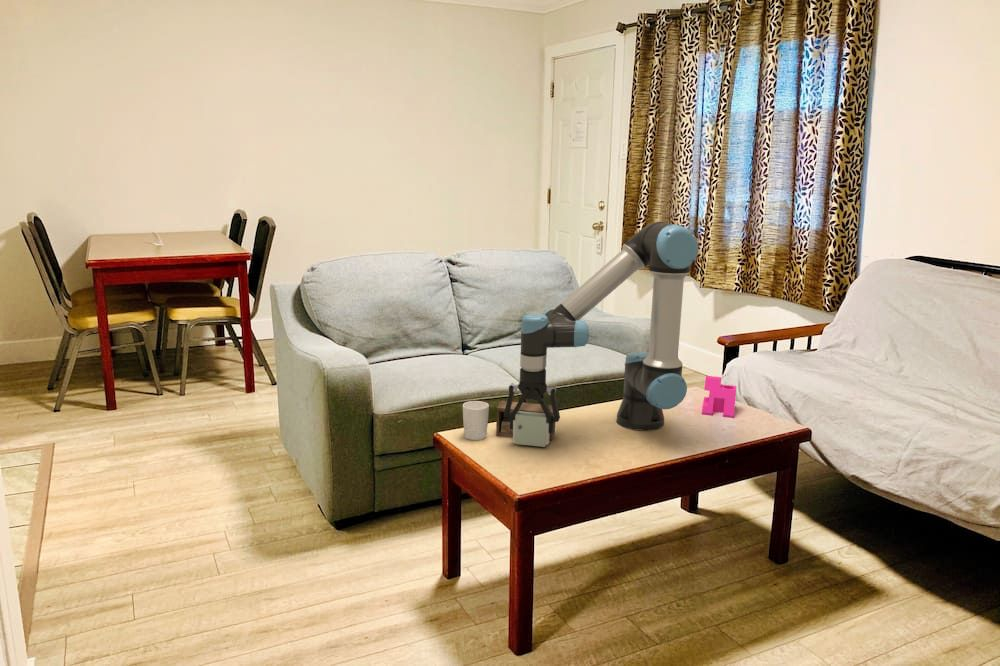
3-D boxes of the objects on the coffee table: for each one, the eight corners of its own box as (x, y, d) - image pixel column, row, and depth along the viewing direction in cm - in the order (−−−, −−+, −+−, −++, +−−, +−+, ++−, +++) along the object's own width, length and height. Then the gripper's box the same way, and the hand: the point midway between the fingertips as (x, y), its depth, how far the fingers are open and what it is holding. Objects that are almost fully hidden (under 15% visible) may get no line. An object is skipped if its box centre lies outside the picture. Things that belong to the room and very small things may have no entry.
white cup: (489, 432, 235) (490, 401, 233) (486, 441, 228) (487, 409, 225) (464, 431, 236) (464, 400, 234) (460, 440, 228) (460, 408, 226)
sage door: (547, 442, 226) (548, 413, 224) (544, 447, 222) (545, 418, 220) (517, 439, 228) (517, 411, 226) (514, 444, 224) (514, 415, 222)
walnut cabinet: (555, 433, 236) (556, 405, 233) (550, 444, 227) (551, 415, 224) (501, 428, 239) (501, 400, 237) (494, 438, 230) (494, 410, 228)
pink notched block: (703, 403, 266) (706, 375, 264) (734, 407, 263) (737, 378, 261) (701, 414, 255) (704, 385, 253) (733, 418, 252) (736, 388, 250)
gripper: (572, 367, 221) (569, 440, 227) (499, 361, 226) (498, 433, 231) (568, 374, 214) (565, 449, 219) (493, 368, 219) (492, 442, 224)
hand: (531, 441), depth 225 cm, fingers closed on sage door, 9 cm apart
